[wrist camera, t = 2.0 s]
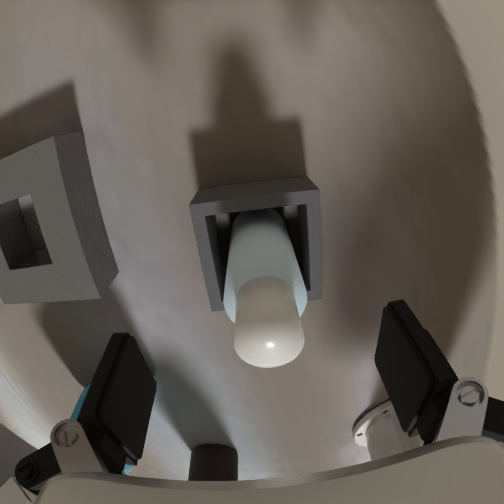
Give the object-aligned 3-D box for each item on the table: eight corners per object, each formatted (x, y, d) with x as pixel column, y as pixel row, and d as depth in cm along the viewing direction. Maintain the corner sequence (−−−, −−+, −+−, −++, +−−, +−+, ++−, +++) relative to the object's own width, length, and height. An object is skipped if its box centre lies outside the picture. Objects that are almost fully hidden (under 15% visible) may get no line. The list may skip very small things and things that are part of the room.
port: (82, 130, 19) (48, 137, 15) (118, 272, 24) (97, 303, 20) (-12, 169, 19) (-44, 183, 15) (24, 282, 24) (0, 307, 20)
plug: (283, 202, 22) (319, 296, 11) (287, 253, 23) (318, 370, 13) (227, 209, 22) (209, 308, 11) (235, 259, 24) (228, 380, 13)
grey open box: (306, 175, 21) (319, 189, 17) (311, 270, 24) (322, 298, 20) (199, 188, 21) (189, 205, 18) (216, 281, 24) (212, 311, 21)
